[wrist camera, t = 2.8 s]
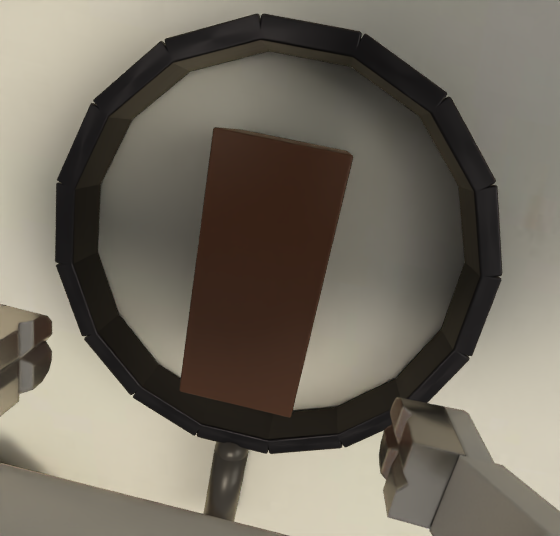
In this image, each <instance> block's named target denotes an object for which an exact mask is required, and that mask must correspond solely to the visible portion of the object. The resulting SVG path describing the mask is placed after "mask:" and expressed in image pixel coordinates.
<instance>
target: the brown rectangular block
mask: <svg viewBox="0 0 560 536" xmlns="http://www.w3.org/2000/svg"><path fill="white" fill-rule="evenodd" d="M352 160H353V155H351V154H350V153H349V152H348V151H344V150H339V149H335V148H330V147H325V146H320V145H315V144H310V143H305V142H300V141H295V140H290V139H285V138H280V137H275V136H270V135H265V134H260V133H255V132H250V131H245V130H240V129H229V128H218V127H215V128H214V129H213V136H212V143H211V151H210V159H209V166H208V174H207V182H206V189H205V197H204V205H203V212H202V220H201V228H200V235H199V243H198V251H197V258H196V266H195V274H194V281H193V289H192V297H191V304H190V312H189V320H188V327H187V335H186V343H185V350H184V358H183V366H182V373H181V381H180V389H179V390H180V391H181V392H185V393H189V394H193V395H198V396H202V397H206V398H210V399H214V400H218V401H223V402H227V403H231V404H235V405H239V406H243V407H248V408H252V409H256V410H260V411H264V412H268V413H273V414H277V415H281V416H285V417H291V415H292V411H293V407H294V402H295V398H296V394H297V390H298V386H299V382H300V377H301V373H302V369H303V365H304V361H305V356H306V352H307V348H308V344H309V340H310V336H311V331H312V327H313V323H314V319H315V315H316V311H317V306H318V302H319V298H320V294H321V290H322V285H323V281H324V277H325V273H326V269H327V265H328V260H329V256H330V252H331V248H332V244H333V240H334V235H335V231H336V227H337V223H338V219H339V215H340V210H341V206H342V202H343V198H344V194H345V189H346V185H347V181H348V177H349V173H350V169H351V164H352Z"/></svg>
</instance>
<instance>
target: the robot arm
mask: <svg viewBox="0 0 560 536" xmlns="http://www.w3.org/2000/svg"><path fill="white" fill-rule="evenodd" d="M51 335H52V321H51V320H50V318H49V317H48V316H46V315H42V314H38V313H34V312H30V311H26V310H22V309H18V308H14V307H10V306H6V305H3V304H0V416H2V415H3V414H4V413H5V412H6V411H8V410H9V409H10V408H11V407H13V406H14V405H15V404H16V403H17V402H19V394H20V393H24V392H27V391H30V390H33V389H34V388H35V387H37V386H38V385H39V384H40V383H41V382H42V381H43V379H44V378H45V376H46V374H47V373H48V371H49V368H50V364H51V361H52V350H51V349H50V347H49V345H48V344H47V342H46V340H47V339H48V338H49V337H50V336H51ZM390 415H391V420H392V424H391V425H390V426H388V427H387V428H386V429H384V433H383V436H382V440H381V445H380V452H379V466H380V473H381V474H382V476H383V477H384V478H385V479H386V483H385V486H384V489H383V493H384V499H385V505H386V511H387V517H389V518H392V519H396V520H400V521H403V522H407V523H411V524H414V525H418V526H421V527H425V528H429V529H430V532H431V534H432V535H433V536H560V511H559V510H557V509H556V508H555V507H554V506H552V505H551V504H550V503H549V502H547V501H546V500H545V499H544V498H542V497H541V496H540V495H539V494H537V493H536V492H535V491H534V490H532V489H531V488H530V487H529V486H528V485H526V484H525V483H524V482H523V481H521V480H520V479H519V478H518V477H516V476H515V475H514V474H513V473H511V472H510V471H509V470H508V469H506V468H505V467H504V466H503V465H500V464H496V463H494V461H493V459H492V457H491V455H490V453H489V452H488V450H487V448H486V446H485V444H484V442H483V440H482V438H481V436H480V434H479V432H478V430H477V429H476V427H475V425H474V423H473V421H472V419H471V417H470V415H469V414H468V413H467V412H466V411H464V410H459V409H454V408H449V407H444V406H439V405H434V404H429V403H424V402H419V401H414V400H409V399H404V398H399V397H396V399H395V401H394V402H393V405H392V408H391V411H390ZM0 536H288V535H284V534H280V533H276V532H272V531H268V530H264V529H261V528H257V527H253V526H249V525H245V524H241V523H237V522H233V521H229V520H225V519H221V518H217V517H213V516H209V515H205V514H201V513H197V512H193V511H189V510H185V509H181V508H177V507H173V506H169V505H165V504H161V503H157V502H153V501H149V500H145V499H142V498H138V497H134V496H130V495H126V494H122V493H118V492H114V491H110V490H106V489H102V488H98V487H94V486H90V485H86V484H82V483H78V482H74V481H70V480H66V479H62V478H59V477H55V476H51V475H47V474H43V473H39V472H35V471H31V470H27V469H23V468H19V467H15V466H11V465H7V464H3V463H0Z"/></svg>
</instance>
